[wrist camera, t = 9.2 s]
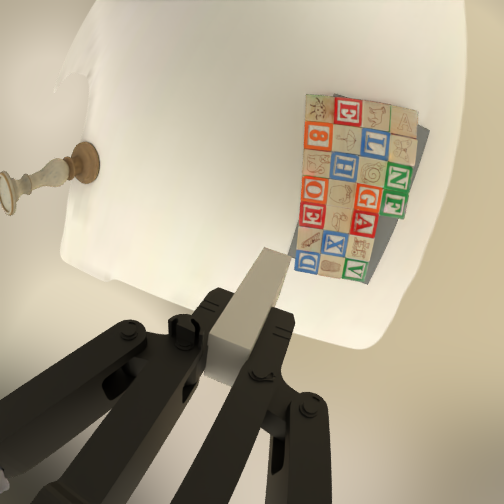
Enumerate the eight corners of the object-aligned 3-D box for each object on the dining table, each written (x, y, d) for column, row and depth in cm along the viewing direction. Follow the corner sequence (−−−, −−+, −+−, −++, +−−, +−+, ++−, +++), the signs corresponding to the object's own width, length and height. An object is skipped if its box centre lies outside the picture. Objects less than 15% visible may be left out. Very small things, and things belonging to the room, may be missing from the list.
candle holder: (75, 139, 45) (-7, 165, 28) (101, 144, 44) (10, 173, 27) (75, 178, 50) (-1, 212, 33) (99, 186, 48) (17, 226, 31)
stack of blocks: (300, 249, 40) (382, 264, 37) (292, 271, 35) (386, 288, 32) (312, 97, 30) (408, 112, 27) (305, 92, 25) (420, 110, 22)
